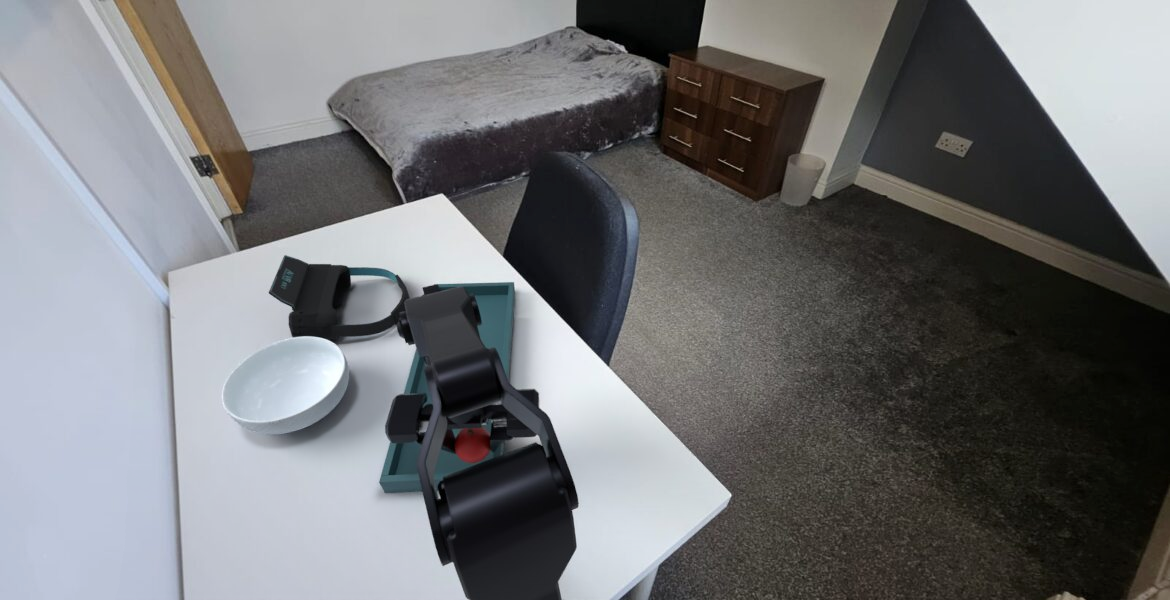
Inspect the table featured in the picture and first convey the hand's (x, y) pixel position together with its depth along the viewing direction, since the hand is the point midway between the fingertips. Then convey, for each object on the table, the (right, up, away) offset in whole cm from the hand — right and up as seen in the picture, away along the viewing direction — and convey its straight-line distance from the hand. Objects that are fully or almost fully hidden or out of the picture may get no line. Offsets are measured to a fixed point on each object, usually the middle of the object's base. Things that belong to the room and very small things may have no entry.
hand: (474, 449), depth 66 cm
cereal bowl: (-30, +4, +10) cm, 32 cm away
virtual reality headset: (-30, +19, +27) cm, 44 cm away
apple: (0, -1, +1) cm, 1 cm away
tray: (-6, +8, +15) cm, 19 cm away
